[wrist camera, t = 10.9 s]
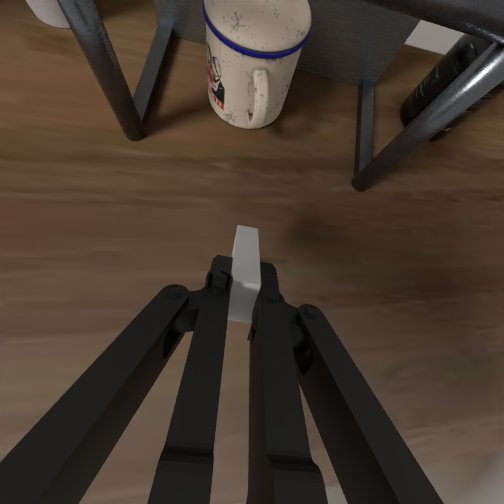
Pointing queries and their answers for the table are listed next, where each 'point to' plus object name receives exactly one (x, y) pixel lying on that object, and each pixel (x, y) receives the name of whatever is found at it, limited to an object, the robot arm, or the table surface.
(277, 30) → the teacup with lid
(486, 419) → the table surface
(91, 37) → the box
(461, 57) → the supplement bottle
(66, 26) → the coffee cup
